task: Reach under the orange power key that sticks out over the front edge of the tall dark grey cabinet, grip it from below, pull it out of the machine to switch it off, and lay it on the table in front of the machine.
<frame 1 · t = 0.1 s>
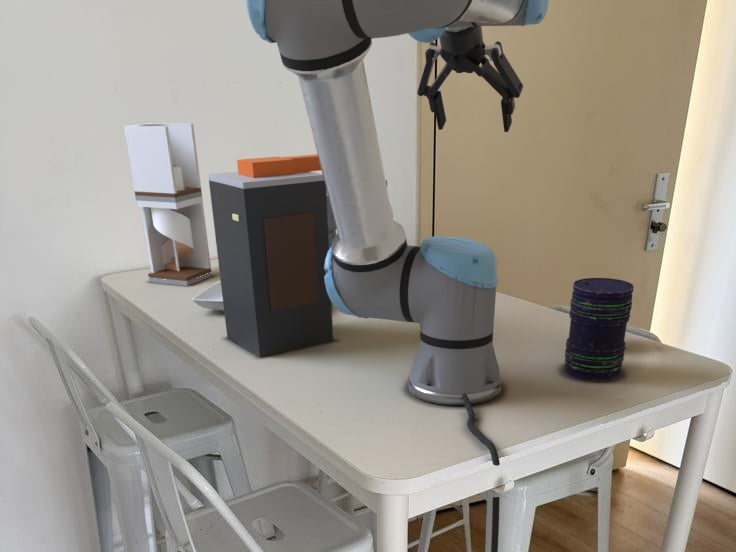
hand: (474, 126, 152), 36 cm above the table, tool tilted 35°, fingers open, 13 cm apart
tall dark grey cabinet: (279, 339, 151), on the table
moka pot: (321, 260, 212), on the table
milk bottle: (379, 258, 213), on the table
square plate: (272, 302, 175), on the table
dark blue cylinder: (591, 373, 134), on the table
power key: (305, 170, 140), point 30 cm above the table, touching tall dark grey cabinet
white tall stand: (181, 279, 195), on the table
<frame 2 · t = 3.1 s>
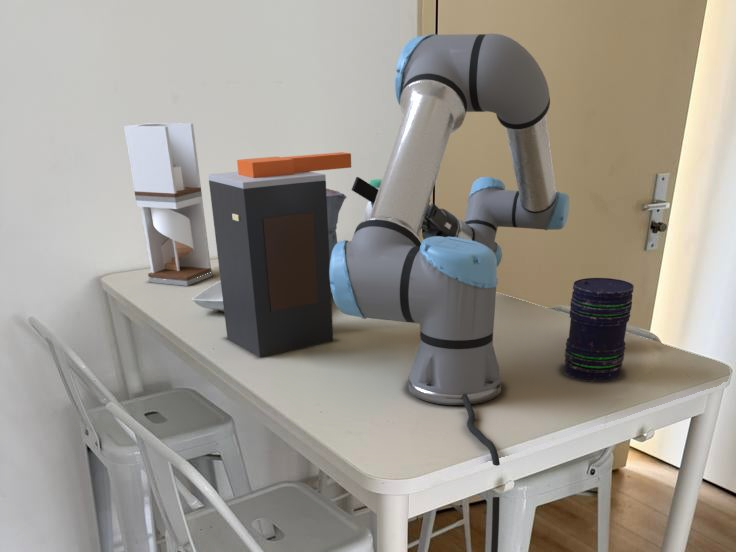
hand: (373, 187, 149), 26 cm above the table, tool pointing upward, fingers open, 13 cm apart
nothing on the table moved.
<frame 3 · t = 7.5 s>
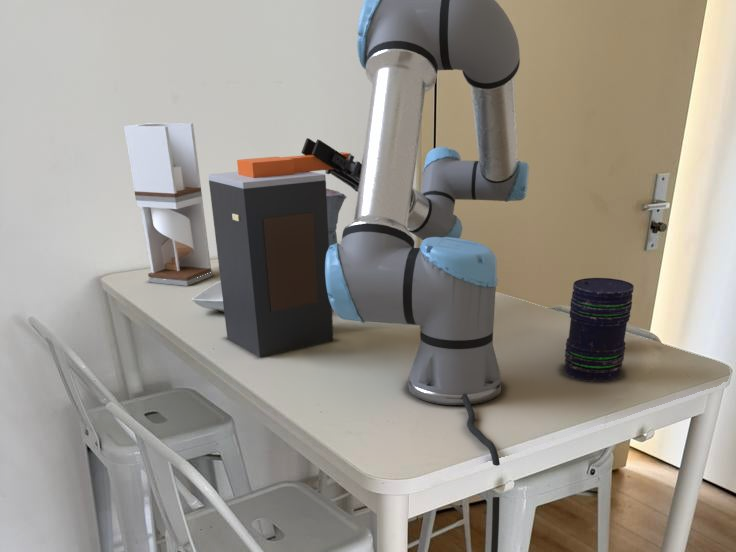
hand: (310, 146, 139), 34 cm above the table, tool pointing upward, fingers closed on power key, 3 cm apart
power key: (305, 170, 140), point 30 cm above the table, touching tall dark grey cabinet, gripper
everything else where it was.
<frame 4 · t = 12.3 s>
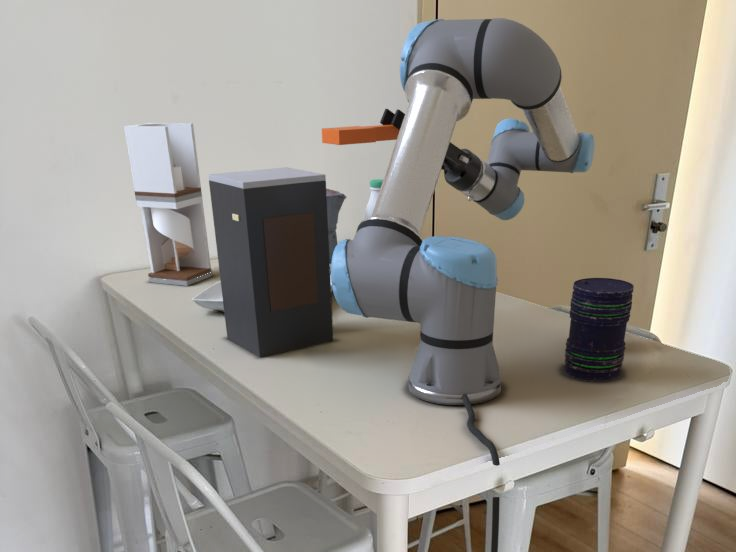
hand: (389, 116, 145), 38 cm above the table, tool pointing upward, fingers closed on power key, 3 cm apart
power key: (384, 139, 147), point 34 cm above the table, touching gripper
everything else where it was.
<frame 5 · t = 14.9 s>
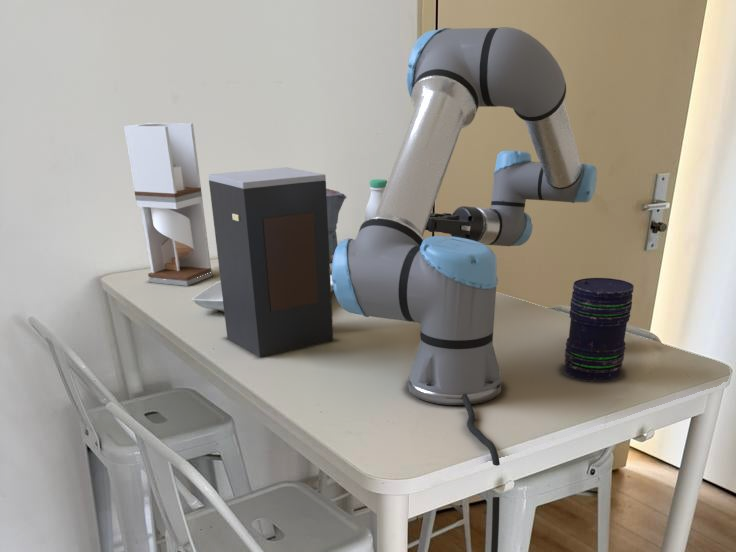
hand: (387, 219, 154), 20 cm above the table, tool horizontal, fingers closed on power key, 3 cm apart
power key: (388, 240, 156), point 16 cm above the table, tilted 21°, touching gripper
everything else where it was.
when the fingers open (10 cm above the table, at t = 17.0 s): power key drops 6 cm, on the table.
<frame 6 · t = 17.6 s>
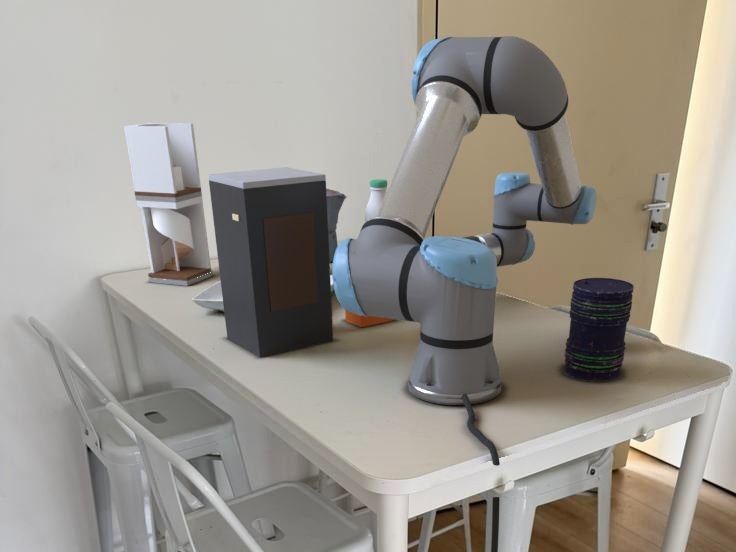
hand: (396, 267, 160), 10 cm above the table, tool horizontal, fingers open, 12 cm apart
power key: (399, 314, 166), on the table
everything else where it was.
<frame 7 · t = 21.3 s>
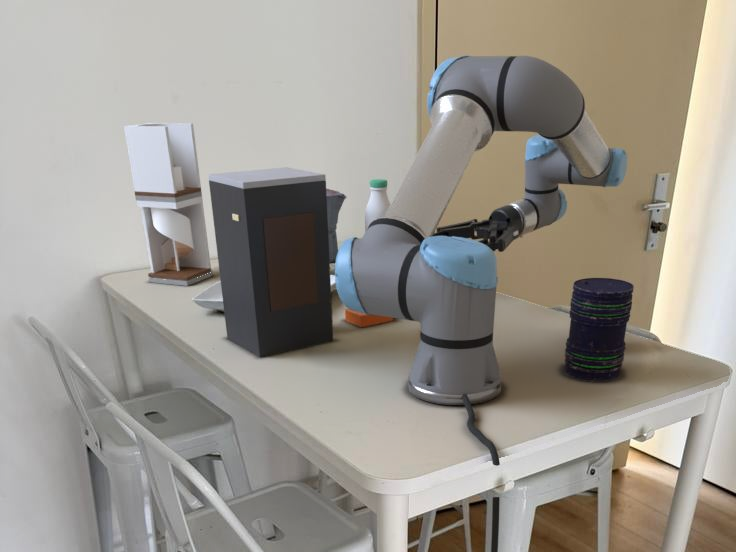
hand: (442, 249, 164), 12 cm above the table, tool horizontal, fingers open, 13 cm apart
nothing on the table moved.
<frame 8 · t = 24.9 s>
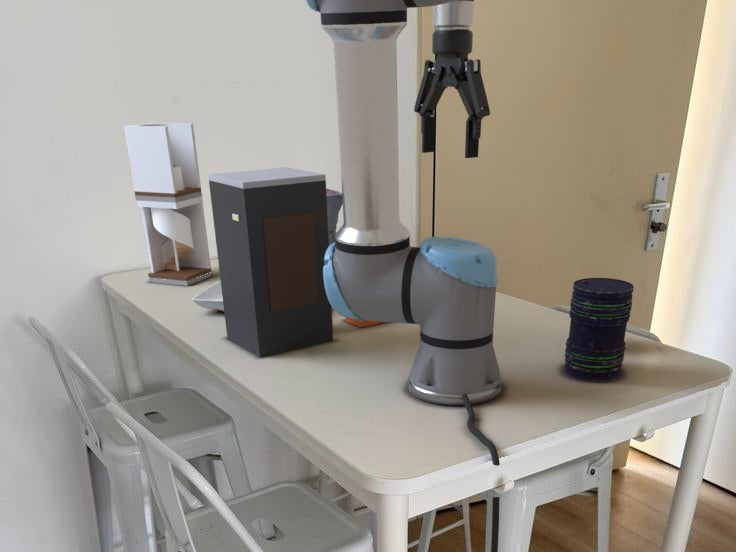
hand: (449, 155, 154), 31 cm above the table, tool pointing down, fingers open, 13 cm apart
nothing on the table moved.
at the end: power key touching table; power key inside the target area (0.9 cm from its centre), on the table; the gripper is holding nothing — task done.
